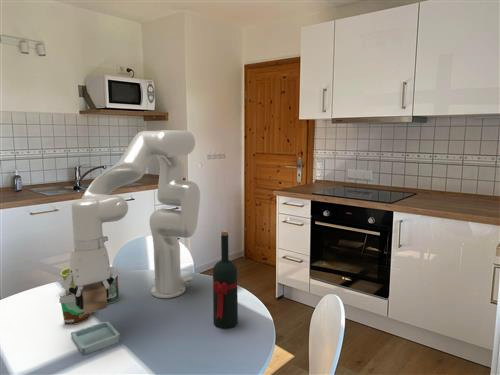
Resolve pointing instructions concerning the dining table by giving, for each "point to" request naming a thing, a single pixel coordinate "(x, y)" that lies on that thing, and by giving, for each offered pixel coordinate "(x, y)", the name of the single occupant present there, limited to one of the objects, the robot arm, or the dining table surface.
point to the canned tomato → (113, 290)
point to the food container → (72, 310)
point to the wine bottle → (225, 289)
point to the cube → (94, 297)
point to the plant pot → (65, 274)
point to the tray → (95, 337)
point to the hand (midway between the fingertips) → (92, 303)
